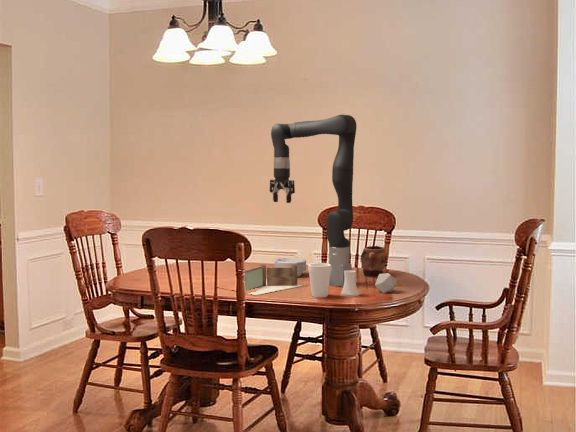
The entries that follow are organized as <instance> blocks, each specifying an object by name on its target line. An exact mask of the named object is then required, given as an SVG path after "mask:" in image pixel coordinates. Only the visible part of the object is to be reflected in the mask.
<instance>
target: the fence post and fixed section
mask: <svg viewBox="0 0 576 432" xmlns="http://www.w3.org/2000/svg"><path fill="white" fill-rule="evenodd" d="M260 266H263V286H266V279H267V286H297V284H298V277H297V265H296V264H293V265H292V267H275V266H274V267H267V265H266V264H260Z"/></svg>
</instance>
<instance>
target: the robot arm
mask: <svg viewBox="0 0 576 432" xmlns="http://www.w3.org/2000/svg"><path fill="white" fill-rule="evenodd" d="M318 135H334V136H338V148H337V152H336V155H335V157H334V159H333V164H332V171H331V173H332V174H331V179H332V180H331V182H332V184H333V188H334V191H335V193H336V196H337V201H338V202H337V204H338V205H337V210H333V211H331V212H329V213H328V215H327V216H326V238H327V239H326V240H327V242H328V264H331V272H330V280H329V286H334V287H343V286H344V280H345V275H344V271H346V270H352V268H353V267H352V263H350V262H351V261H350V260H351V258H350V256H351V255H350V254H351V252H350V251H351V250H350V249H351V246H350V244H351V243H350V239H348V238H346V237H345V231H348V230H350V229H351V228H352V226H353V224H354V209H353V208H354V206H353V182H354V181H353V180H354V155H355V154H354V153H355V151H354V150H355V140H356V135H357V121H356V119H355V117H353V115H350V114H338V115H334V116H331V117H329V118H325V119H319V120H304V121H296V122H293V123H275V124H274V125H273V126H272V127H271V129H270V137H271V142H272V145H273V157H274V158H273V178H274V179H270V180H269V192H270V193H272V201H273V202H274V203H278V202H279V191H281V190H282V191H284V192H285V194H286V200H285V201H286V203H287V204H290V203H291V202H292V195H293V194H295V193H296V190H295V189H296V188H295V180H293V179H291V180H290V177H291V159H290V147H289V145H288V144H287V143H286V140H289V139H294V138H296V139H297V138H309V137H315V136H318Z"/></svg>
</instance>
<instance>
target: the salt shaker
mask: <svg viewBox="0 0 576 432" xmlns="http://www.w3.org/2000/svg"><path fill="white" fill-rule="evenodd" d="M356 272H357V271H356V270H346V271H344V275H345V280H344V286H342V287H343V288H342V290H341V291H340V296H342V297H349V298H350V297H353V296H354V297H358V296H360V292H359V290H358V287H357V283H356Z"/></svg>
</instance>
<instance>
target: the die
mask: <svg viewBox="0 0 576 432" xmlns="http://www.w3.org/2000/svg"><path fill="white" fill-rule="evenodd" d="M397 282H398V280H397V279H395V277H393V276H392V275H391V274H390V273H388V272H386V273H385V272H383V274H379V276H378V277H377V279H376V281H375V284H374V287H376V288H377V289H379V291H380V292H382V293H383V294H388V293H393V291H394V290H395V287H396V284H397Z"/></svg>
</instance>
